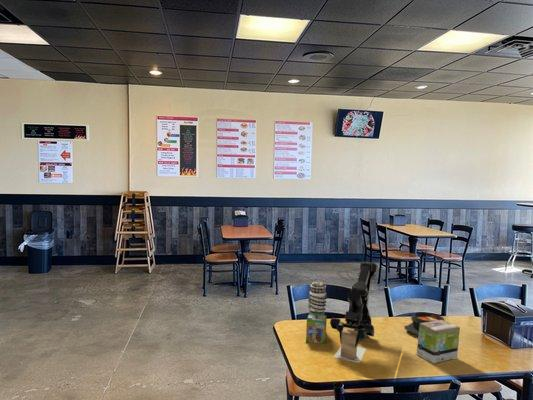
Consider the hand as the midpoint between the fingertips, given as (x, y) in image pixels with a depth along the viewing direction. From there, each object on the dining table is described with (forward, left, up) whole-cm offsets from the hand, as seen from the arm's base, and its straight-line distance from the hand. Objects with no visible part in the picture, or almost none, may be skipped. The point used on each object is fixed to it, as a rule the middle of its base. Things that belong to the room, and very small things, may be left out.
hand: (348, 345), depth 171 cm
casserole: (-61, +2, -7) cm, 62 cm away
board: (-5, -3, -7) cm, 9 cm away
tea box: (-37, +20, -7) cm, 43 cm away
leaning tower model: (-11, -30, -7) cm, 33 cm away
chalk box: (-3, -22, -7) cm, 23 cm away
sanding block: (-2, -1, -5) cm, 6 cm away
